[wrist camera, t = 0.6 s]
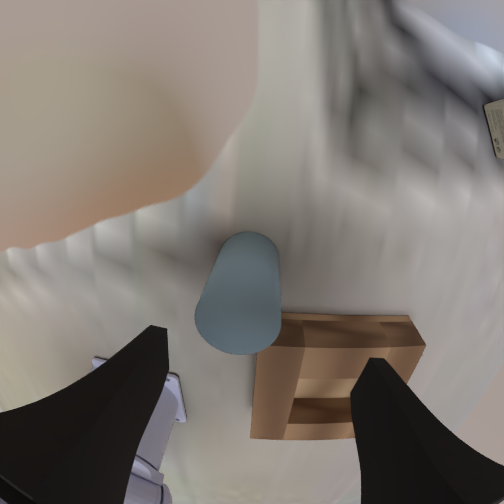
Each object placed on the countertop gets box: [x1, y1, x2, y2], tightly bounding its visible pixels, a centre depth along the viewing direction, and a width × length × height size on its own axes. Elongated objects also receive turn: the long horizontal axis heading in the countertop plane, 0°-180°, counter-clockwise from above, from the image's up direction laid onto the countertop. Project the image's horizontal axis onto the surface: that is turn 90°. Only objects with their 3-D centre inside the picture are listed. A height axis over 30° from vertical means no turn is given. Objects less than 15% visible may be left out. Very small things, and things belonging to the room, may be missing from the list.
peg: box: [195, 232, 281, 355], centre depth 16 cm, size 4×4×7 cm
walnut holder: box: [250, 312, 426, 440], centre depth 21 cm, size 12×12×4 cm
